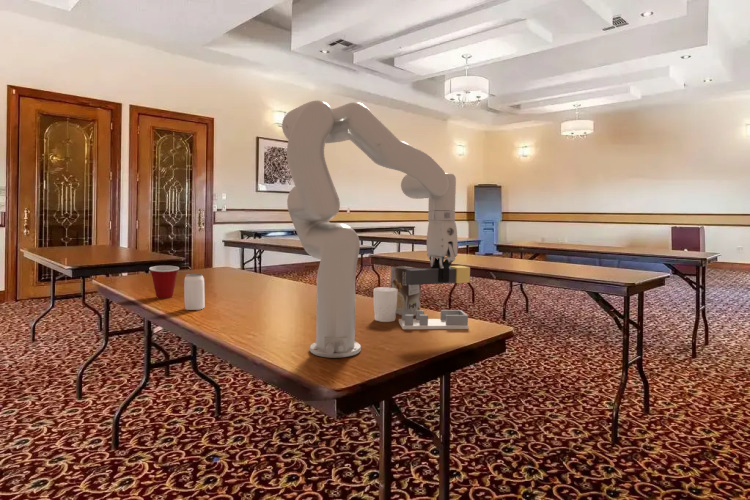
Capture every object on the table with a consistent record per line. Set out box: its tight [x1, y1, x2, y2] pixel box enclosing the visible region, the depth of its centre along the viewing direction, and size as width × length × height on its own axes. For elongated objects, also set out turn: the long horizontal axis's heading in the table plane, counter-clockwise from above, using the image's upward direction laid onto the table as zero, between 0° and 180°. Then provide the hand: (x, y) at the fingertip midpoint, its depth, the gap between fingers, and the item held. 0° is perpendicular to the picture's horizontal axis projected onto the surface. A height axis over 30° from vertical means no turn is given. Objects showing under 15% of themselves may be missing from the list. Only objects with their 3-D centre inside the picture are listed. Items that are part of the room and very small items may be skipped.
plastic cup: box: [149, 265, 180, 299], centre depth 178 cm, size 11×11×12 cm
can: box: [183, 273, 206, 311], centre depth 157 cm, size 6×6×12 cm
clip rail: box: [398, 309, 470, 330], centre depth 140 cm, size 9×20×4 cm, turn 95°
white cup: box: [373, 286, 398, 323], centre depth 146 cm, size 8×8×10 cm
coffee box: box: [390, 265, 422, 317], centre depth 156 cm, size 9×6×16 cm
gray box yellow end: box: [406, 265, 471, 286], centre depth 129 cm, size 19×4×4 cm, turn 114°
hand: (439, 280), depth 130 cm, fingers closed on gray box yellow end, 3 cm apart
